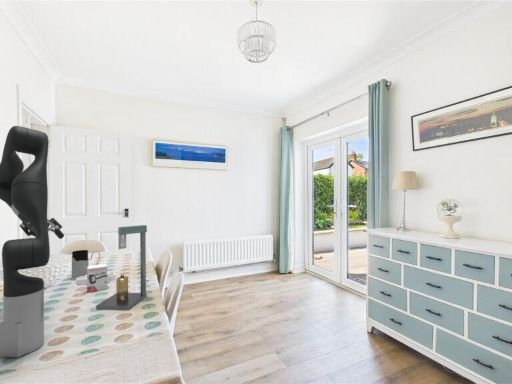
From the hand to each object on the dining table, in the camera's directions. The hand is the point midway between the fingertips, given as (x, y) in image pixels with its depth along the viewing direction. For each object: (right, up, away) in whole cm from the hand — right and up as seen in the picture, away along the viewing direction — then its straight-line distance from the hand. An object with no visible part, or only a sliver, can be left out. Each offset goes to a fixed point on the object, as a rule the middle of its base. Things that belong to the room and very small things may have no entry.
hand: (53, 239), depth 106 cm
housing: (+25, -27, +6) cm, 37 cm away
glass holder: (-14, -30, +42) cm, 53 cm away
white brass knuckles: (-4, -30, +35) cm, 46 cm away
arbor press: (+26, -28, +6) cm, 39 cm away
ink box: (+5, -29, +21) cm, 36 cm away
